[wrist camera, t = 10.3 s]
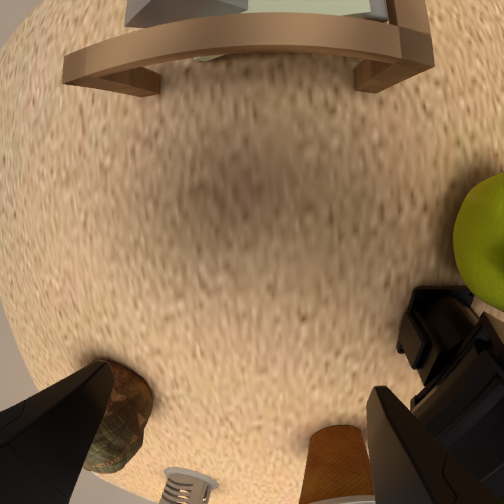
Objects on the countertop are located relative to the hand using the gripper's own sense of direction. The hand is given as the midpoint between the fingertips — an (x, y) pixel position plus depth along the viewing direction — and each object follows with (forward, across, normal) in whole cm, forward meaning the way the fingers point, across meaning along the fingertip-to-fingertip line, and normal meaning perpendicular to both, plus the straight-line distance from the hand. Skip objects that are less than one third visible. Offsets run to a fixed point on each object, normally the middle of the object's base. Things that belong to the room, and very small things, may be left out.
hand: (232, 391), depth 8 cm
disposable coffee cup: (+13, -9, +24) cm, 29 cm away
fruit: (+13, -17, -3) cm, 22 cm away
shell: (+13, +17, +18) cm, 28 cm away
